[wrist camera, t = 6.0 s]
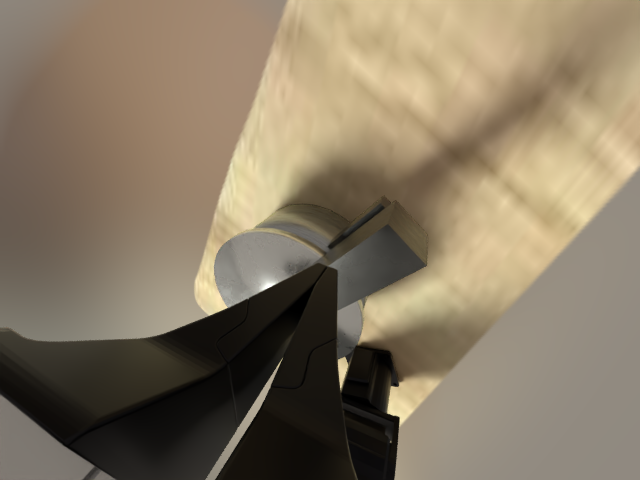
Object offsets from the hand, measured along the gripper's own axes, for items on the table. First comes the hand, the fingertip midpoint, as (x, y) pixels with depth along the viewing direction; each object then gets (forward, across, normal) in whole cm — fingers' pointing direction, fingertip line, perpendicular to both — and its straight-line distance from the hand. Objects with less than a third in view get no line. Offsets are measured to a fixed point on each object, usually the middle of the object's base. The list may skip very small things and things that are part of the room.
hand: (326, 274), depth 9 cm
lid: (+7, +3, +8) cm, 11 cm away
